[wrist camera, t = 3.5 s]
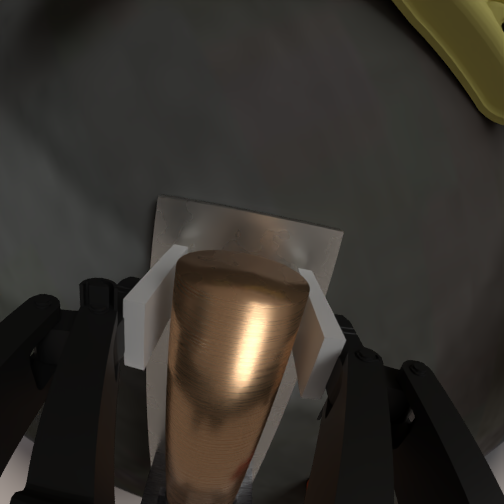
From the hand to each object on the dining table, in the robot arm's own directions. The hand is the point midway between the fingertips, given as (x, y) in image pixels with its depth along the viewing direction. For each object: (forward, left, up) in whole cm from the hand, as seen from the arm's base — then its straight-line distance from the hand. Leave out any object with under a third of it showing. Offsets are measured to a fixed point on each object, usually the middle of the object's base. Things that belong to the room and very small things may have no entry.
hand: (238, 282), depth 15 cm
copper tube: (0, -7, +3) cm, 8 cm away
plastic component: (+10, +23, -2) cm, 25 cm away
